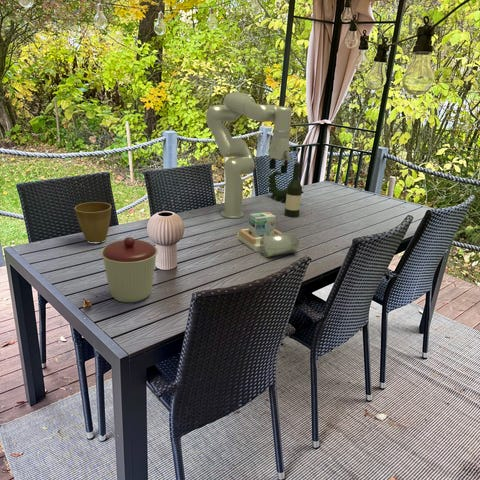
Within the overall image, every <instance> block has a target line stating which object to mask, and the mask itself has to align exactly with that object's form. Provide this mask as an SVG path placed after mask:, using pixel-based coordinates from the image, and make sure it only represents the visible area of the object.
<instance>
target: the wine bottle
mask: <svg viewBox="0 0 480 480" xmlns="http://www.w3.org/2000/svg"><path fill="white" fill-rule="evenodd" d="M300 169H301V163H300V162H299V161H295V162H294V165H293V172H292V179H291V180H290V181H289V183H288V184H287V187H286V189H287V195H286V200H285V205H284V216H285V217H287V218H293V219H294V218H299V217H300V209H301V203H302V201H301V199H302V194H303V193H302V191H303V186H302V184H301V181H300V179H299V177H300V172H301V170H300ZM301 193H302V194H301Z"/></svg>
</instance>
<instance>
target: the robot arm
mask: <svg viewBox="0 0 480 480" xmlns="http://www.w3.org/2000/svg"><path fill="white" fill-rule="evenodd" d="M223 101H224V104H215V105H211V106H209V107H208V108H207V111H206V114H205V120H206V121H205V122H206V125H207V126H208V129H209V130H210V132H211V134H212V136H213V138H214V140H215V143H216V146H217V147H218V150H219V152H220V154H221V156H222V157H224V158H228V159H226V161H225V162H224V167H223V168H224V176H225V183H224V186H225V187H224V204H223V205H222V207H223V210H222V211H221V212H220V216H222V217H224V218H226V219H227V218H228V219H242V218H244V216H245V213H244V211H242V210H243V209H242V206H243V190H244V182H243V179H242V177H241V176H243V175H247V174H248V175H249V174H252V173H253V172H254V170H255V167H256V164H255V161H254V157H253V155H252V153H251V150H250V148H249V147H248V144H247V142H246V140H244V139H242V138H240V137H236V138H233V137H232V135H231V134H230V131H229V129H228V128H227V127H226V125H225V124H224V123H225V122H233V121H234V122H235V121H236V120H237V119H239V118H240V117H241V116H242V115H245V116H246V118H247V119H250V120H252V121H256V122H260V123H263V122H266V123H267V122H273V130H272V131H273V135H272V137H271V141H270V146H269V150H268V157H269V158H268V159H269V170H275V169H276V164H277V161H281V166H280V173H281V175H282V174H287V172H288V165H289V164H290V161H291V158H292V157H291V155H290V134H291V133H290V132H291V131H290V130H291V122H292V114H293V113H292V111H293V110H292V108H291V107H289V106H280V105H277V104H259V103H256V100H255V99H254V97H252V96H250V95H249V94H248V93H246V92H229V93H227V94H226V96H225V97H224V100H223ZM222 122H224V123H222Z"/></svg>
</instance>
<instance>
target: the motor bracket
mask: <svg viewBox="0 0 480 480" xmlns="http://www.w3.org/2000/svg"><path fill="white" fill-rule="evenodd" d="M248 231H249V227H248V228H242V229H239V230H238V232H236V238H237V239H238V240H240V241H241V242H242V243H244V244H245V245H246V246H247V247H249V248H250V249H251V250H253V251H254V252H256V253H257V252H258V253H259V252H261V253H262V255H263V256H264V257H265V258H269V257H275V256H280V255H286V254H292V253H296V252H297V251H298V248H299V238H298V237H297V235H296V234H295V232H292V231H291V232H284V233H283V232H282V231H280V230H278V229H276V228H275V230H274V235H269V236H263V237H257V238H254V237H252V236H251V235H249V234H248Z"/></svg>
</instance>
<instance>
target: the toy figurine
mask: <svg viewBox="0 0 480 480" xmlns="http://www.w3.org/2000/svg"><path fill="white" fill-rule="evenodd" d="M278 175H279V176H280V177H281V176H282V174H281V171H278V170H276V171H274V172H273V173H271V174H270V175H269V176H268V178H269V179H268V185H267V187H269V189H268V190H267V192H268V193H272V194H271V196H270V198H271V199H274V198H275V202H278V201H281V202H282V203H284V202H286V195H287V188H285V189H282V190H281V189H278V187H277V182H276V177H277V176H278ZM304 193H305V192H304V191H303V190H302V193H301V195H302V194H304Z"/></svg>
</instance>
